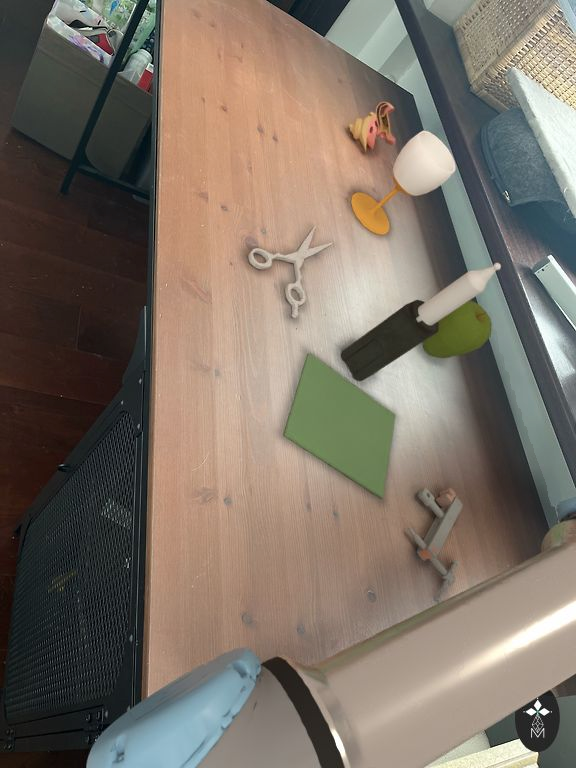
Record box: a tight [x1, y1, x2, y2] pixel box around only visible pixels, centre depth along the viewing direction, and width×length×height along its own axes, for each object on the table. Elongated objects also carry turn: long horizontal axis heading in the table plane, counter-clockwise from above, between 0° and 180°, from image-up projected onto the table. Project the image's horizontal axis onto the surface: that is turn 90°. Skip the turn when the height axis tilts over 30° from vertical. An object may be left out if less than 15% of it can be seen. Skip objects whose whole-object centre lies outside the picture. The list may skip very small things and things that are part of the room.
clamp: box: [407, 487, 464, 604], centre depth 81 cm, size 15×2×10 cm
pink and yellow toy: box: [349, 101, 397, 154], centre depth 119 cm, size 9×10×10 cm
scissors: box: [247, 224, 335, 319], centre depth 90 cm, size 11×1×20 cm
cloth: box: [283, 352, 396, 499], centre depth 81 cm, size 14×16×1 cm
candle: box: [340, 262, 502, 382], centre depth 80 cm, size 5×5×25 cm
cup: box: [350, 130, 456, 236], centre depth 104 cm, size 9×9×16 cm
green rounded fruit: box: [422, 300, 493, 359], centre depth 98 cm, size 9×8×12 cm
